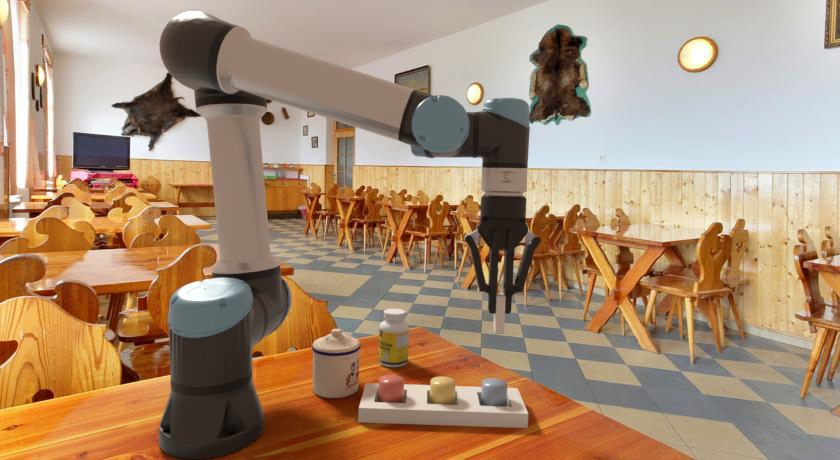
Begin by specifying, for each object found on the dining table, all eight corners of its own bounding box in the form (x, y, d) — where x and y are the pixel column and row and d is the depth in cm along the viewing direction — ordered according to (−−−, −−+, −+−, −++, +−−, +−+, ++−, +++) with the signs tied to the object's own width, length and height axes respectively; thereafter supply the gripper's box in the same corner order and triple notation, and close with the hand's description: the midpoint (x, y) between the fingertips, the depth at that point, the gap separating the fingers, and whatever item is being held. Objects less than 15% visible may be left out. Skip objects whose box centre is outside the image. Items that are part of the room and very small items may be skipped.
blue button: (482, 408, 85) (483, 388, 85) (479, 397, 89) (480, 377, 89) (508, 409, 85) (509, 389, 85) (504, 397, 89) (505, 378, 89)
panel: (358, 422, 83) (358, 407, 82) (365, 395, 93) (365, 382, 92) (527, 428, 82) (528, 413, 82) (516, 401, 92) (517, 388, 92)
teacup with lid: (355, 400, 91) (356, 338, 89) (306, 398, 91) (306, 336, 90) (365, 374, 102) (366, 319, 101) (321, 373, 103) (321, 317, 101)
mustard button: (429, 406, 85) (430, 386, 85) (429, 395, 89) (430, 376, 89) (455, 407, 85) (456, 387, 85) (454, 396, 89) (454, 376, 89)
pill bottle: (375, 358, 112) (376, 308, 110) (403, 356, 113) (404, 306, 112) (382, 369, 105) (383, 316, 104) (411, 367, 107) (413, 314, 106)
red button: (377, 404, 85) (377, 384, 85) (379, 393, 90) (380, 374, 89) (402, 405, 85) (403, 385, 85) (404, 394, 90) (404, 375, 89)
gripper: (466, 194, 80) (462, 337, 82) (548, 195, 79) (541, 339, 82) (463, 192, 87) (459, 324, 90) (537, 194, 87) (532, 326, 89)
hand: (498, 331), depth 86 cm, fingers closed
